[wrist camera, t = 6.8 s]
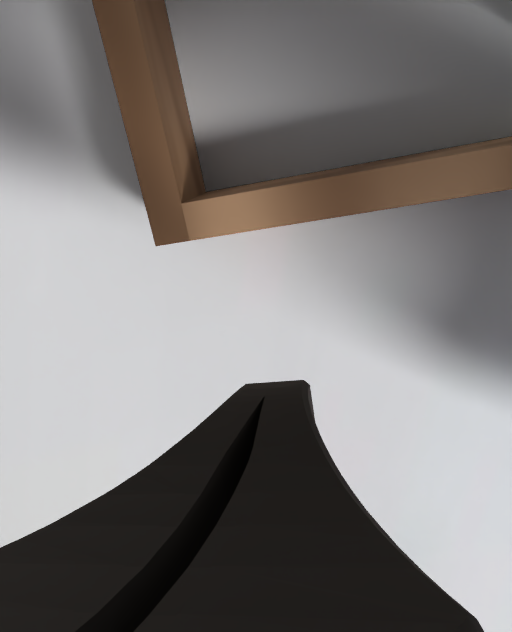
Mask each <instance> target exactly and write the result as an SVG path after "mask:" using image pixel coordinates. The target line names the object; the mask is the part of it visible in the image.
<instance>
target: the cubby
mask: <svg viewBox="0 0 512 632" xmlns="http://www.w3.org/2000/svg"><path fill="white" fill-rule="evenodd" d="M92 2H93V6H94V10H95V14H96V18H97V21H98V25H99V29H100V33H101V37H102V41H103V45H104V48H105V52H106V56H107V60H108V64H109V68H110V72H111V75H112V79H113V83H114V87H115V91H116V95H117V99H118V102H119V106H120V110H121V114H122V118H123V122H124V126H125V130H126V133H127V137H128V141H129V145H130V149H131V153H132V157H133V160H134V164H135V168H136V172H137V176H138V180H139V184H140V187H141V191H142V195H143V199H144V203H145V207H146V211H147V214H148V218H149V222H150V226H151V230H152V234H153V238H154V241H155V245H156V246H160V245H166V244H172V243H179V242H185V241H191V240H197V239H204V238H210V237H216V236H222V235H228V234H235V233H241V232H247V231H253V230H260V229H266V228H272V227H278V226H285V225H291V224H297V223H303V222H310V221H316V220H322V219H328V218H335V217H341V216H347V215H353V214H360V213H366V212H372V211H378V210H385V209H391V208H397V207H403V206H409V205H416V204H422V203H428V202H434V201H441V200H447V199H453V198H459V197H466V196H472V195H478V194H484V193H491V192H497V191H503V190H509V189H512V136H511V137H506V138H500V139H495V140H489V141H484V142H478V143H473V144H467V145H462V146H456V147H451V148H445V149H440V150H434V151H429V152H423V153H418V154H412V155H407V156H401V157H396V158H390V159H385V160H379V161H374V162H368V163H363V164H357V165H352V166H346V167H341V168H335V169H330V170H325V171H319V172H314V173H308V174H303V175H297V176H292V177H286V178H281V179H275V180H270V181H264V182H259V183H253V184H248V185H242V186H237V187H231V188H226V189H220V190H215V191H209V192H206V191H205V186H204V181H203V177H202V172H201V168H200V163H199V158H198V154H197V149H196V144H195V140H194V135H193V131H192V126H191V121H190V117H189V112H188V108H187V103H186V98H185V94H184V89H183V84H182V80H181V75H180V71H179V66H178V61H177V57H176V52H175V48H174V43H173V38H172V34H171V29H170V24H169V20H168V15H167V11H166V6H165V1H164V0H92Z"/></svg>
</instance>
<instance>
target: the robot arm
mask: <svg viewBox="0 0 512 632" xmlns="http://www.w3.org/2000/svg"><path fill="white" fill-rule="evenodd" d="M0 632H484V631H483V629H482V627H481V625H480V624H479V622H478V620H477V619H476V618H475V617H474V616H473V615H472V614H470V613H469V612H468V611H467V610H466V609H465V608H463V607H462V606H461V605H460V604H459V603H458V602H456V601H455V600H454V599H453V598H452V597H450V596H449V595H448V594H447V593H446V592H445V591H444V590H443V589H442V588H440V587H439V586H438V585H437V584H436V583H435V582H434V581H433V580H432V579H431V578H429V577H428V576H427V575H426V574H425V573H424V572H423V571H422V570H421V569H420V568H419V567H418V566H417V565H416V564H415V563H414V562H413V561H412V560H411V559H410V558H409V557H408V556H407V555H406V554H405V553H404V552H403V551H402V550H401V549H400V548H399V547H398V546H397V545H396V544H395V543H394V541H393V540H392V539H391V538H390V537H389V536H388V534H387V533H386V532H385V531H384V530H383V529H382V528H381V526H380V525H379V524H378V523H377V522H376V521H375V519H374V518H373V517H372V516H371V515H370V514H369V513H368V511H367V510H366V509H365V508H364V506H363V505H362V504H361V502H360V501H359V499H358V498H357V497H356V495H355V494H354V493H353V491H352V490H351V488H350V487H349V485H348V484H347V482H346V481H345V479H344V478H343V476H342V475H341V473H340V472H339V470H338V468H337V467H336V465H335V463H334V461H333V460H332V458H331V456H330V454H329V452H328V450H327V448H326V446H325V444H324V442H323V440H322V438H321V436H320V434H319V431H318V428H317V426H316V423H315V418H314V411H313V404H312V397H311V390H310V385H309V384H308V383H307V382H306V381H304V380H296V381H282V382H268V383H253V384H245V385H244V386H243V387H241V388H240V389H239V390H238V391H237V392H235V393H234V394H233V395H232V396H231V397H230V398H229V399H228V400H226V401H225V402H224V403H223V404H222V405H221V406H220V407H219V408H218V409H217V410H215V411H214V412H213V413H212V414H211V415H210V416H209V417H207V418H206V419H205V420H204V421H203V422H202V423H201V424H200V425H198V426H197V427H196V428H195V429H194V430H193V431H192V432H190V433H189V434H188V435H187V436H185V437H184V438H183V439H182V440H180V441H179V442H178V443H177V444H175V445H174V446H173V447H172V448H170V449H169V450H168V451H167V452H165V453H164V454H163V455H162V456H160V457H159V458H158V459H156V460H155V461H154V462H152V463H151V464H150V465H148V466H147V467H145V468H144V469H142V470H141V471H140V472H138V473H137V474H135V475H134V476H132V477H131V478H129V479H128V480H126V481H124V482H123V483H121V484H120V485H118V486H117V487H115V488H114V489H112V490H110V491H109V492H107V493H106V494H104V495H102V496H100V497H99V498H97V499H95V500H93V501H91V502H90V503H88V504H86V505H84V506H82V507H81V508H79V509H77V510H75V511H73V512H72V513H70V514H68V515H66V516H64V517H63V518H61V519H59V520H57V521H55V522H54V523H52V524H50V525H48V526H46V527H44V528H42V529H39V530H37V531H35V532H33V533H31V534H29V535H27V536H25V537H23V538H21V539H19V540H17V541H14V542H12V543H10V544H8V545H5V546H3V547H1V548H0Z"/></svg>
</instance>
